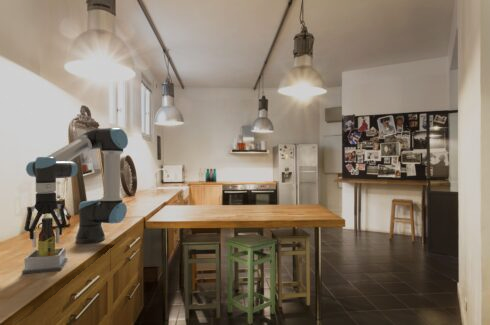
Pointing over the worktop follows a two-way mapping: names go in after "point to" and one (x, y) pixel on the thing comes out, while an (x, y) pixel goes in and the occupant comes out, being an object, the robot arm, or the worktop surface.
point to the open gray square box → (45, 262)
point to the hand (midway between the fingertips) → (46, 244)
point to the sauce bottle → (46, 239)
